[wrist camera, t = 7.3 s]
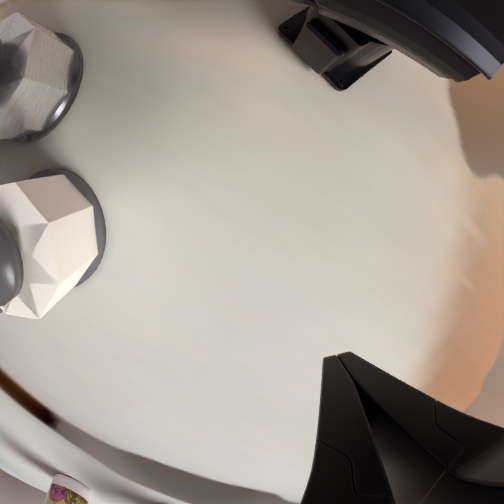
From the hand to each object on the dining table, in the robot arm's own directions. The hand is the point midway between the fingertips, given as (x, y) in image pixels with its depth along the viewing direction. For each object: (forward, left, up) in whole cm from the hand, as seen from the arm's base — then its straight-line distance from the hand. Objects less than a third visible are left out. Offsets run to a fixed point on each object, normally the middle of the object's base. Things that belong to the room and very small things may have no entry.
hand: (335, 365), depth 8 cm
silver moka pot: (+5, -23, -13) cm, 27 cm away
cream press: (+12, -13, -13) cm, 22 cm away
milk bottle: (+57, +8, -13) cm, 59 cm away
